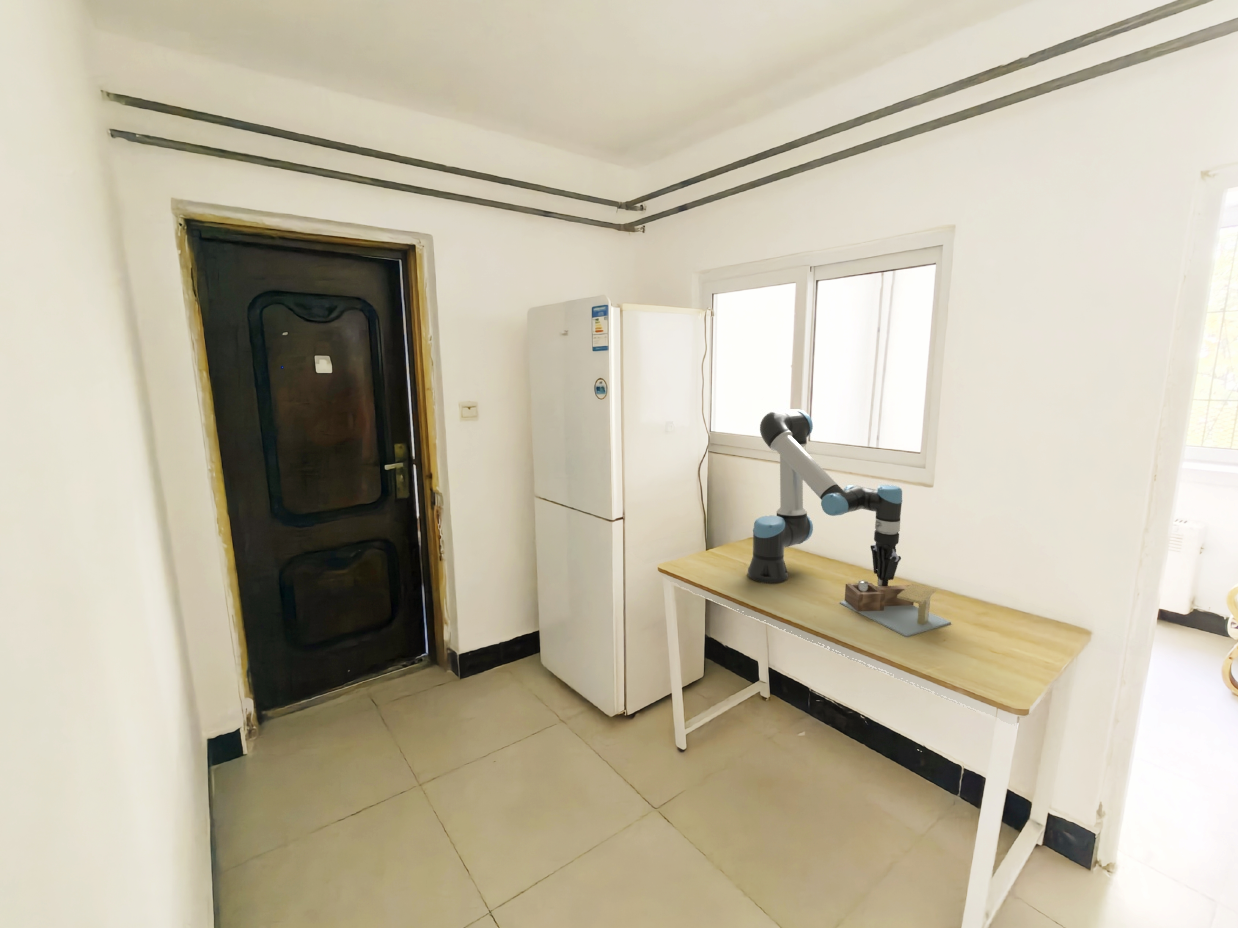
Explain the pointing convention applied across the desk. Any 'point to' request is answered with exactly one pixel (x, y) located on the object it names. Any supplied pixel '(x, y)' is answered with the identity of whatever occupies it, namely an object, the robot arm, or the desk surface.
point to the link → (874, 597)
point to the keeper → (918, 600)
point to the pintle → (863, 586)
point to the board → (902, 619)
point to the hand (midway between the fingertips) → (881, 596)
